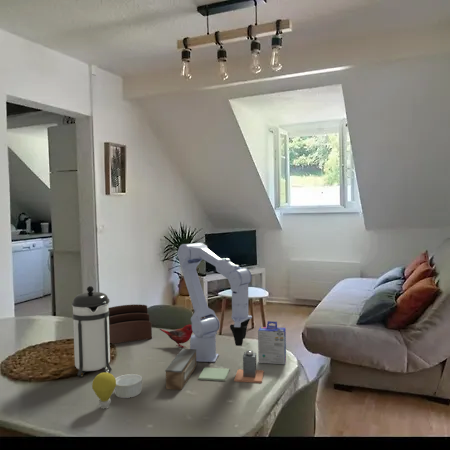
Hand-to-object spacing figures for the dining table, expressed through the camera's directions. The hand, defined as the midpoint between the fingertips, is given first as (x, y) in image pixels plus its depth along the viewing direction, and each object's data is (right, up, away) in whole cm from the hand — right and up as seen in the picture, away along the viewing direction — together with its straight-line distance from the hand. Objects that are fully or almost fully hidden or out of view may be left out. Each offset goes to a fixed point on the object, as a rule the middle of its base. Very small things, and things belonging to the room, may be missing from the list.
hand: (240, 341), depth 150 cm
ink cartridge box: (+12, -10, +8) cm, 17 cm away
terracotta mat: (+3, -10, -6) cm, 12 cm away
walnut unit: (-20, -11, -5) cm, 23 cm away
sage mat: (-9, -10, -4) cm, 14 cm away
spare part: (+3, -10, -6) cm, 12 cm away
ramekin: (-36, -12, -16) cm, 41 cm away
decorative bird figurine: (-25, -9, +27) cm, 38 cm away
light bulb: (-40, -12, -26) cm, 49 cm away
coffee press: (-53, -11, +4) cm, 55 cm away
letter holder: (-48, -9, +39) cm, 63 cm away
